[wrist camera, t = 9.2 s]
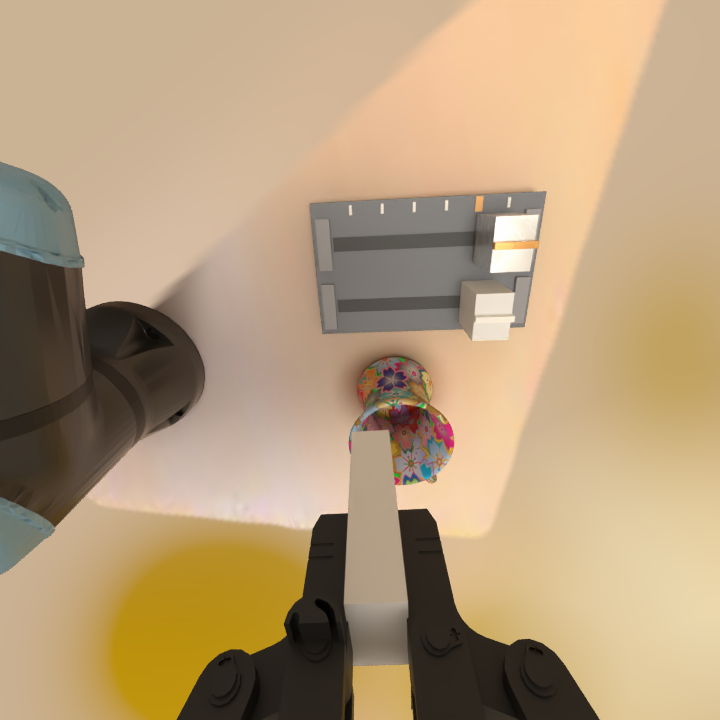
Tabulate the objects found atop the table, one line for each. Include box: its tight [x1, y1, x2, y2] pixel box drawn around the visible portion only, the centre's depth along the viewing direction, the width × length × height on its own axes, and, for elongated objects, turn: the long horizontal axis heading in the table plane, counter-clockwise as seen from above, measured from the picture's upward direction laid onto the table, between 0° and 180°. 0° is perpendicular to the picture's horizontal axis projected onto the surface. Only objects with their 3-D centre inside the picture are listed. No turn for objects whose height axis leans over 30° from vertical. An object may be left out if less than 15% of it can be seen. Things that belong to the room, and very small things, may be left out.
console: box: [310, 191, 546, 341], centre depth 30 cm, size 20×12×8 cm, turn 93°
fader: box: [473, 213, 539, 273], centre depth 28 cm, size 3×4×6 cm
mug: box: [349, 357, 454, 485], centre depth 36 cm, size 12×9×11 cm
